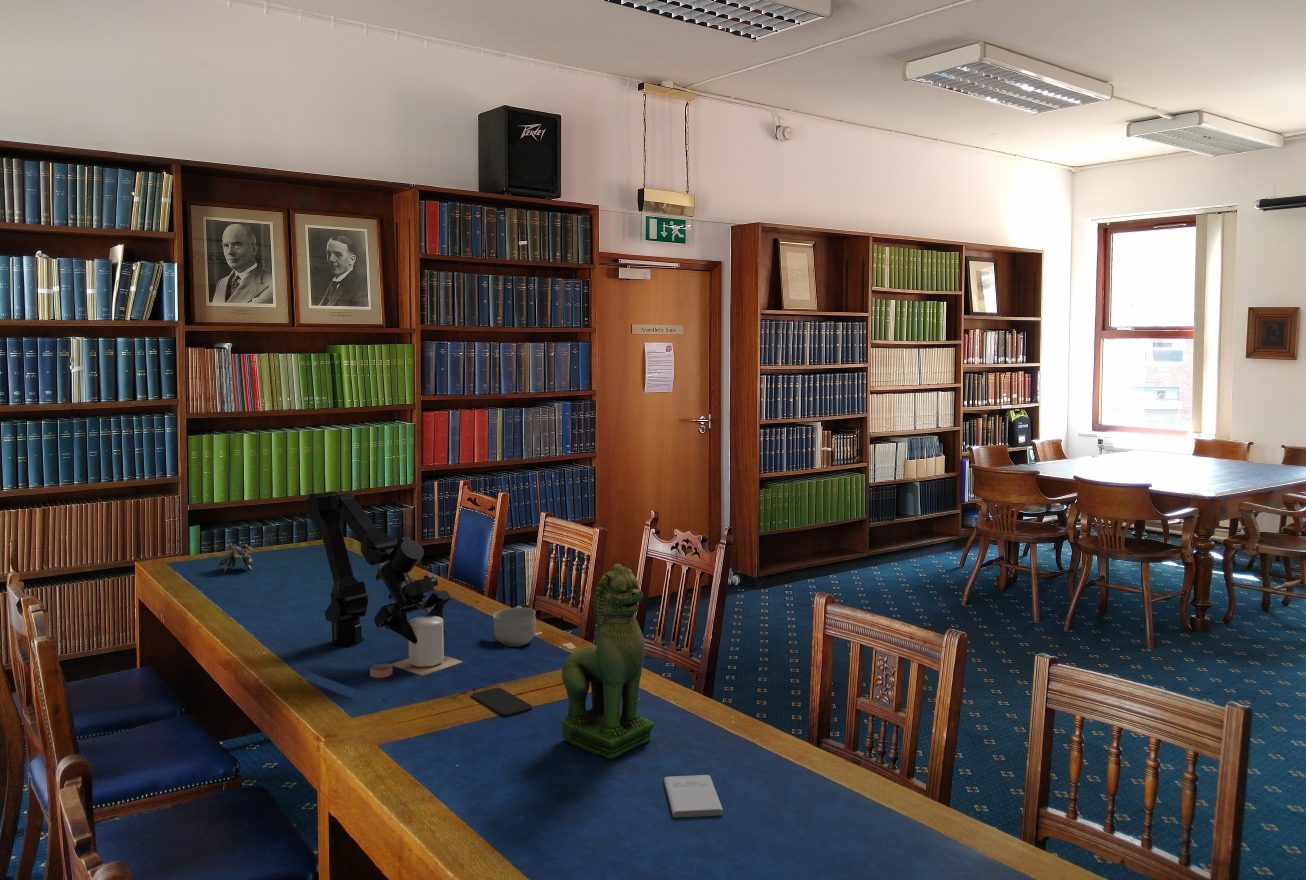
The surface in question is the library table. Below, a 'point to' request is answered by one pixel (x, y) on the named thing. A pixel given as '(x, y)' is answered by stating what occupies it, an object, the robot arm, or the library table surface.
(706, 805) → the external hard drive
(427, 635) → the white faceted jar
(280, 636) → the library table surface
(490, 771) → the library table surface
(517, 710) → the phone
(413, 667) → the cork pad
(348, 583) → the robot arm
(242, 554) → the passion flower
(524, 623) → the teacup
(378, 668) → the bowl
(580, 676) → the lion statue
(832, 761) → the library table surface
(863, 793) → the library table surface
